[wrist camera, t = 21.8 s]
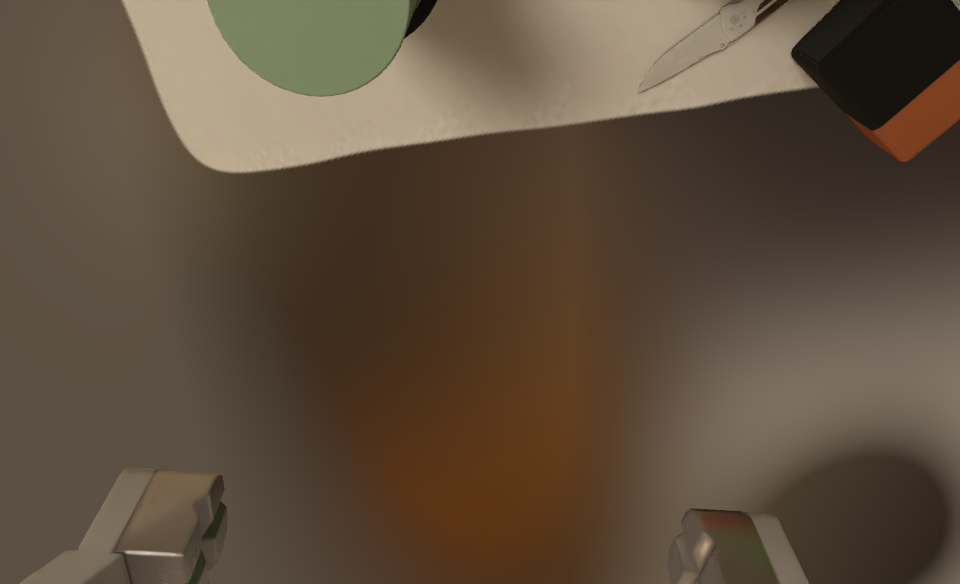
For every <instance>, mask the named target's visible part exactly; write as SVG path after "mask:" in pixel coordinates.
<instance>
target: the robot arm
mask: <svg viewBox="0 0 960 584" xmlns="http://www.w3.org/2000/svg"><path fill="white" fill-rule="evenodd" d="M223 491H224V483H223V477H222V476H221V475H215V474H203V473H194V472H184V471H174V470H164V469H151V468H140V467H128V468H126V470H124V471H123V472H122V473H121V474H120V475H119V477H118V479H117V481H116V482H115V484H114V486H113V488H112V489H111V491H110V493H109V495H108V496H107V498H106V500H105V502H104V504H103V505H102V507H101V509H100V511H99V512H98V514H97V516H96V518H95V520H94V521H93V523H92V525H91V527H90V528H89V530H88V532H87V534H86V535H85V537H84V539H83V541H82V542H81V544H80V546H79V548H78V549H77V550H67V551H65V552H64V553H62V554H61V555H59V556H58V557H57V558H55V559H54V560H52V561H51V562H50V563H48V564H46V565H45V566H44V567H42V568H41V569H39V570H38V571H36V572H35V573H33V574H32V575H30V576H29V577H28V578H26V579H25V580H23V581H22V582H20V583H19V584H209V581H208V574H207V572H208V571H209V570H210V569H211V568H212V567H214V566H215V565H216V564H217V563H218V561H219V559H220V556H221V552H222V550H223V546H224V541H225V536H226V531H227V507H226V506H225V505H224V504H223V503H222V502H221V501H220V500H221V497H222V494H223ZM681 523H682V526H683V529H684V532H682V533H681V534H679V535H678V536H676V537H675V538H674V539H673V542H672V544H671V547H670V550H669V560H668V561H669V562H668V569H669V577H670V581H671V584H809V583H808V581H807V579H806V577H805V574H804V573H803V570H802V568H801V566H800V564H799V562H798V560H797V558H796V556H795V554H794V552H793V550H792V547H791V545H790V543H789V541H788V539H787V537H786V535H785V533H784V531H783V529H782V527H781V524H780V522H779V520H778V519H777V518H776V517H775V516H774V515H773V514H762V513H748V512H745V513H743V512H741V511H725V510H707V509H689V510H688V511H687V512H685V515H684V517H683V519H682V521H681Z"/></svg>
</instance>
